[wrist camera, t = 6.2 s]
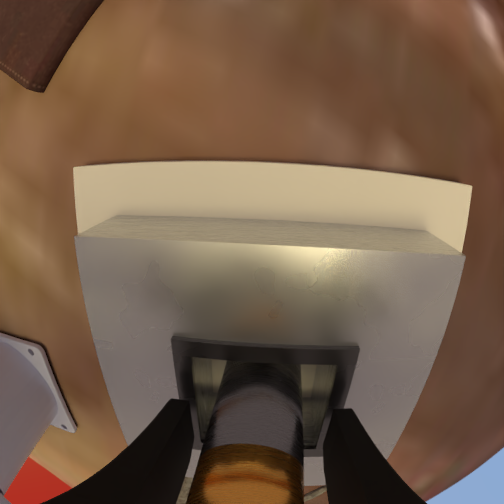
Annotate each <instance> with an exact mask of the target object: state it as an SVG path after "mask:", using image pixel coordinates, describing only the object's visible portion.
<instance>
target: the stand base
mask: <svg viewBox="0 0 504 504" xmlns="http://www.w3.org/2000/svg"><path fill="white" fill-rule="evenodd" d="M73 171H74V192H75V206H76V217H77V227H78V234H80V233H82V232H84V231H85V230H87V229H89V228H91V227H93V226H95V225H97V224H99V223H101V222H103V221H105V220H108V219H110V218H112V217H114V216H116V215H134V216H182V217H214V218H241V219H264V220H284V221H302V222H320V223H336V224H351V225H365V226H378V227H391V228H404V229H416V230H426V231H428V232H430V233H431V234H433V235H434V236H436V237H438V238H439V239H441V240H442V241H444V242H445V243H447V244H449V245H450V246H452V247H453V248H455V249H456V250H458V251H459V252H461V253H462V248H463V243H464V238H465V232H466V227H467V221H468V214H469V207H470V200H471V192H472V186H470V185H467V184H463V183H459V182H453V181H447V180H442V179H435V178H429V177H423V176H416V175H409V174H402V173H394V172H386V171H378V170H370V169H360V168H350V167H340V166H328V165H316V164H301V163H284V162H262V161H224V160H184V161H146V162H125V163H108V164H95V165H84V166H78V167H73ZM211 361H212V379H213V392H217V393H218V390H219V387H220V383H221V379H222V376H223V372H224V369H225V365H226V362H227V360H217V359H211ZM316 366H317V365H307V364H301V381H302V397H311V392H312V387H313V382H314V377H315V372H316Z"/></svg>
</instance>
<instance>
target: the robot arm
mask: <svg viewBox="0 0 504 504" xmlns="http://www.w3.org/2000/svg"><path fill="white" fill-rule="evenodd" d="M49 425H53V426H55V427H58V428H60V429H63V430H66V431H68V432H71V433H75V432H76V430H77V427H76V425H75V423H74V421H73V419H72V417H71V415H70V413H69V410H68V408H67V406H66V404H65V402H64V399H63V397H62V395H61V392H60V390H59V388H58V385H57V383H56V380H55V378H54V375H53V373H52V370H51V367H50V365H49V362H48V359H47V356H46V354H45V351H44V349H43V348H42V347H41V346H40V345H38V344H35V343H32V342H28V341H25V340H22V339H18V338H15V337H12V336H9V335H6V334H3V333H0V504H11V503H10V502H9V501H8V500H7V499H5V497H4V494H5V493H6V491H7V490H8V488H9V486H10V485H11V483H12V481H13V480H14V478H15V477H16V475H17V473H18V472H19V470H20V469H21V467H22V466H23V464H24V462H25V461H26V459H27V457H28V456H29V455H30V453H31V452H32V450H33V449H34V447H35V446H36V444H37V443H38V441H39V440H40V438H41V437H42V435H43V434H44V432H45V431H46V429H47V428H48V426H49ZM194 438H195V437H194V430H193V424H192V417H191V410H190V403H189V401H187V400H180V399H173V398H171V399H170V400H169V401H168V402H167V403H166V404H165V406H164V407H163V408H162V409H161V411H160V412H159V413H158V414H157V416H156V417H155V418H154V419H153V420H152V421H151V423H150V424H149V425H148V426H147V427H146V428H145V429H144V430H143V431H142V432H141V433H140V435H139V436H138V437H137V438H136V439H135V440H134V441H133V442H132V443H131V444H130V445H129V446H128V447H127V448H126V449H124V450H123V451H122V452H121V453H120V454H119V455H118V456H117V457H116V458H115V459H113V460H112V461H111V462H110V463H109V464H107V465H106V466H105V467H104V468H102V469H101V470H100V471H98V472H97V473H96V474H94V475H93V476H91V477H90V478H88V479H87V480H85V481H84V482H82V483H80V484H79V485H77V486H76V487H74V488H72V489H70V490H69V491H67V492H65V493H63V494H60V495H59V496H56V497H54V498H52V499H50V500H48V501H46V502H43V503H41V504H176V502H177V499H178V496H179V493H180V491H181V488H182V485H183V482H184V478H185V475H186V472H187V469H188V466H189V463H190V459H191V454H192V449H193V443H194ZM323 465H324V475H325V482H326V488H327V494H328V501H329V504H427V503H426V502H424V501H423V500H422V499H421V498H420V497H419V496H418V495H417V494H416V493H415V492H414V491H413V490H412V489H411V488H410V487H409V486H408V485H407V484H406V483H405V482H404V481H403V480H402V479H401V477H400V476H399V475H398V474H397V473H396V472H395V470H394V469H393V468H392V467H391V465H390V464H389V463H388V462H387V460H386V459H385V458H384V456H383V455H382V453H381V452H380V451H379V449H378V448H377V447H376V445H375V444H374V442H373V441H372V439H371V438H370V436H369V435H368V433H367V432H366V430H365V428H364V427H363V425H362V424H361V422H360V420H359V419H358V417H357V415H356V414H355V412H354V410H353V409H352V408H344V409H333V413H332V416H331V420H330V423H329V426H328V430H327V433H326V436H325V439H324V442H323Z"/></svg>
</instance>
